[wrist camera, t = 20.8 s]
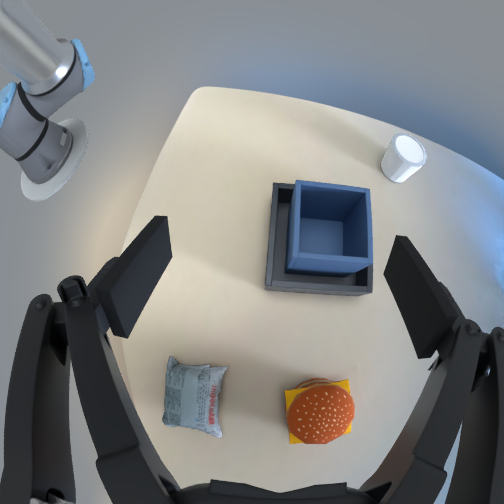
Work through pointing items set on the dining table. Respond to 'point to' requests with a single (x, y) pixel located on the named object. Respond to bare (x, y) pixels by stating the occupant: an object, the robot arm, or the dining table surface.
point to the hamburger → (319, 411)
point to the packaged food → (193, 396)
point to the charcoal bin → (284, 282)
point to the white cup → (403, 157)
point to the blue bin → (328, 230)
